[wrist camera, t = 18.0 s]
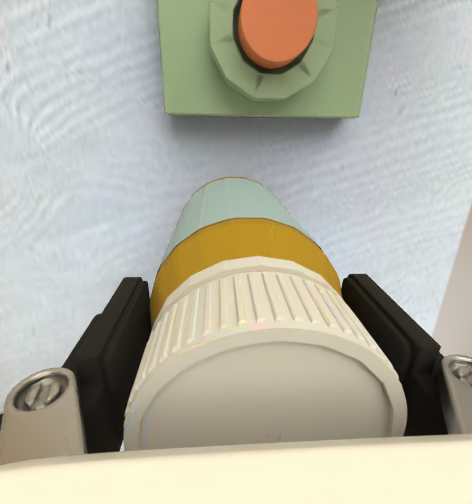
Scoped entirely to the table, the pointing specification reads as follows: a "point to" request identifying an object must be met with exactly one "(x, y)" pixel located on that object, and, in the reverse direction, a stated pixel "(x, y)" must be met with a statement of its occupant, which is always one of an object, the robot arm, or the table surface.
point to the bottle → (254, 336)
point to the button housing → (255, 77)
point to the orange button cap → (276, 30)
